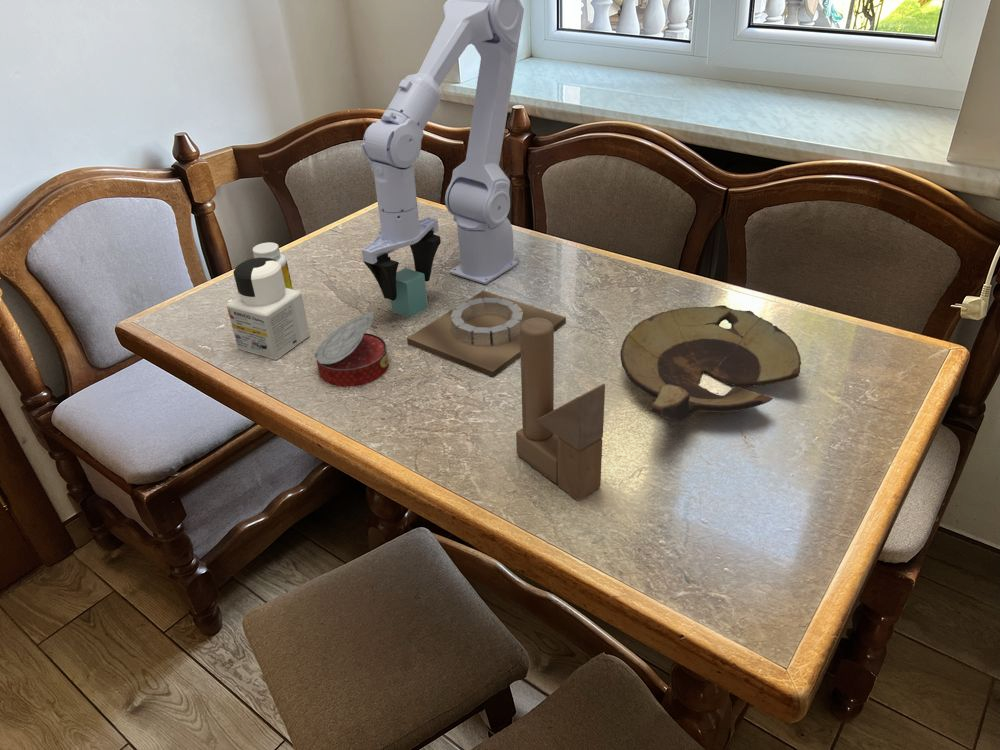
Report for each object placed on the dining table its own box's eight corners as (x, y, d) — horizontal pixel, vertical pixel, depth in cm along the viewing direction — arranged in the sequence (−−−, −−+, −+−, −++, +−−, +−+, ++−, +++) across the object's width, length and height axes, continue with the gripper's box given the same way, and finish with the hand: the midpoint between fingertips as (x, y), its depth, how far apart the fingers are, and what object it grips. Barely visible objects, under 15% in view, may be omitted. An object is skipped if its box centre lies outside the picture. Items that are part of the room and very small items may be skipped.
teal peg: (409, 301, 125) (405, 267, 122) (427, 307, 123) (424, 273, 120) (392, 311, 123) (387, 277, 119) (410, 318, 120) (406, 283, 117)
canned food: (366, 414, 108) (336, 379, 99) (316, 385, 112) (284, 349, 104) (414, 352, 111) (389, 313, 103) (364, 326, 116) (336, 287, 107)
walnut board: (483, 295, 126) (483, 290, 125) (565, 323, 117) (565, 317, 117) (407, 343, 114) (406, 337, 113) (493, 377, 106) (492, 371, 105)
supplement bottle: (301, 305, 125) (289, 247, 120) (270, 317, 122) (256, 258, 117) (286, 294, 129) (273, 237, 123) (255, 305, 126) (241, 247, 120)
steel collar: (481, 304, 121) (481, 291, 120) (536, 322, 116) (536, 309, 114) (437, 332, 114) (436, 319, 113) (493, 353, 109) (493, 340, 108)
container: (236, 349, 114) (215, 270, 107) (272, 325, 120) (254, 248, 113) (276, 361, 111) (257, 280, 104) (311, 336, 117) (295, 257, 110)
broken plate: (831, 381, 102) (843, 331, 98) (680, 480, 87) (687, 426, 83) (698, 319, 117) (703, 273, 113) (549, 394, 102) (549, 345, 98)
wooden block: (578, 502, 85) (581, 365, 75) (515, 455, 92) (511, 323, 82) (602, 487, 86) (608, 351, 76) (539, 442, 94) (537, 312, 84)
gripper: (411, 186, 120) (419, 265, 127) (342, 216, 111) (355, 300, 118) (445, 194, 116) (452, 276, 124) (377, 226, 107) (388, 312, 114)
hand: (407, 288), depth 121 cm, fingers open, 7 cm apart
